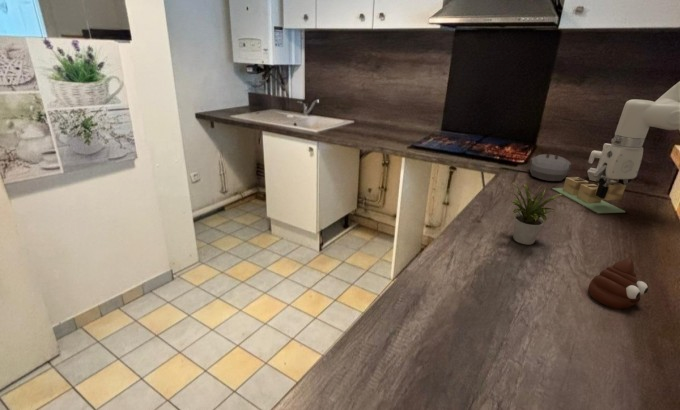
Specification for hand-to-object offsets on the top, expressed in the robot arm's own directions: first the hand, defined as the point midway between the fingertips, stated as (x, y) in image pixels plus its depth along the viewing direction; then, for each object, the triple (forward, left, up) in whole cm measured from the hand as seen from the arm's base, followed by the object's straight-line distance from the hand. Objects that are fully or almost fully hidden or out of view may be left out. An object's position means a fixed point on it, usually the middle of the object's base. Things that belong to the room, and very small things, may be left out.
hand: (607, 196), depth 116 cm
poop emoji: (+36, +42, -5) cm, 55 cm away
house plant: (+41, +16, -5) cm, 44 cm away
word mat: (0, -8, -5) cm, 9 cm away
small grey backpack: (-4, -34, -5) cm, 35 cm away
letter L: (0, -14, -4) cm, 15 cm away
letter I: (0, -7, -4) cm, 8 cm away
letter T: (0, 0, 0) cm, 0 cm away
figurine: (-21, -27, -5) cm, 35 cm away
